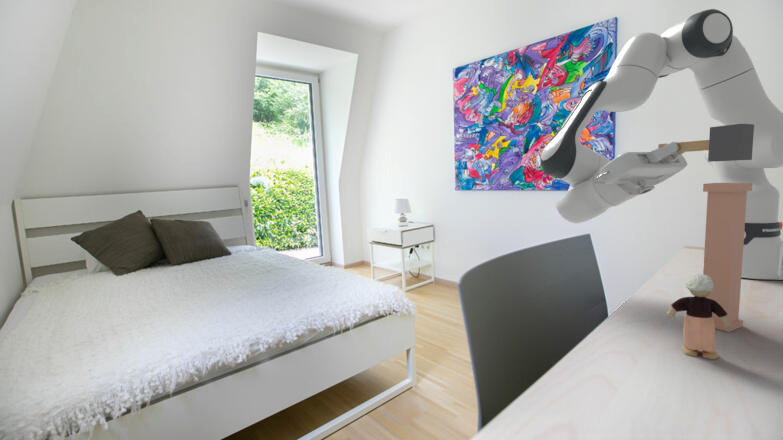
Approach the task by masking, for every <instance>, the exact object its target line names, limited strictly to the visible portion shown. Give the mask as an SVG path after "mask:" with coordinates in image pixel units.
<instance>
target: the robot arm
mask: <svg viewBox="0 0 783 440" xmlns="http://www.w3.org/2000/svg"><path fill="white" fill-rule="evenodd" d="M733 34H734V27H733V24H732V19H730V17H729V16H728V15H727V14H726V13H725V12H723V11H721V10H719V9H715V8H710V9H706V10H702V11H699V12H696V13H694V14H692V15H691V16H689V17H688V18H686V19H683V20H681V21H679V22H677V23H675V24H674V25H672V26H670V27H669V28H667V29H666V30H664V31H663V32H661V33H660V34H657V33H655V32H642V33H639V34H636V35H634V36H632V37H631V38H630V39H628V40H627V41H626V43H625V44H624V46H623V47H622V49H621V50H620V51H619V53H618V55H617V56H616V58H615V60H614V61H613V63H612V65H611V68H610V69H609V72H608V74H607V75H606V77H605V78H604V79H603V80H601V81H596V82H594V83H592V85H591V86H589V87H588V88H587V89H586V90H585V92H584V93H583V94H582V95H581V97H580V98H579V99H578V101H577V102H576V104H575V105H574V107H573V108H572V110H571V111H570V112H569V114H568V116H567V117H566V118H565V120H564V121H563V123H562V124H561V125H560V127H559V129H558V130H557V131H556V133H555V134H554V136H552V138H551V139H550V140H549V141H548V143H547V144H546V145H545V146H544V148H543V149H542V150H541V153H540V157H539V159H540V160H539V161H540V165H541V168H542V171H543V172H544V173H545V175H548V176H551V177H554V178H557V179H559V180H561V181H563V182H565V183H567V184H568V185H569V187H568V189H567V191H566V193H564V194H563V195H562V196H561V197H560V198H559V199H558V200H557V201H556V204H555V206H556V209H557V211H558V214H560V216H562V218H563V219H565V220H566V221H568V222H570V223H573V224H581V223H585V222H587V221H590V220H592V219H595V218H597V217H599V216H601V215H602V214H604V213H606V212H607V211H608V210H609V209H610V208H613V207H618V206H619V205H621V204H624V203H625V202H627V201H629V200H631V199H633V198H635V197H637V196H640V195H643V194H646V193H650V192H651V191H653V190H654V189H655V186H657V185H658V184H661V183H663V182H664V181H666V180H668V179H670V178H671V177H673V176H675V175H676V174H677V173H680V172H681V171H683V170H684V169H685V168H686V167H687V165H688V161H687V160H686V159H685V156H684V155H683V154H684V153H686V152H677V151H679V150H680V149H681V146H680V145H679V142H678V141H670V142H669V144H667V143H666V144H667V145H665V146H663V147H661V148H656V149H652V150H651V151H626V152H623V153H621V154H619V155H618V156H615V158H613V159H612V160H611V159H609V158H608V157H607V156H604V155H602V154H601V153H599V152H598V151H595V150H593V149H591V148H589V147H588V146H586V145H584V144H582V143H581V141H580V137H581V135H582V133H583V132H584V130H585V128H586V127H587V126H588V124H589V123H590V121H591V119H592V118H593V117H594V115H595V114H596V113H597V112H598V111H602V112H604V111H605V112H611V113H614V112H615V113H621V112H627V111H628V112H629V111H632V110H635V109H637V108H639V107H641V106H642V105H643V104H645V103H646V102H647V101H648V100H649V98H650V97H651V95H652V93H653V91H654V89H655V87H656V84H657V82H658V80H659V79H660V78H666V77H667V76H669V75H671V74H675V73H679V72H681V71H683V70H686V69H690V71H692V72H693V75H694V79H695V82H696V85H697V88H698V90H699V93H700V95H701V97H702V99H703V100H702V101H703V102H704V104H705V107H706V110H707V113H708V115H709V116H710V117H711V118H712V119H713V120H716V121H718V122H720V123H721V124H723V126H726V125H735V124H754V135H753V149H752V160H737V161H713V162H708V154H709V150H705V151H703V156H704V159H705V161H706V162H707V163H708V164H709V165H710V166H712V168H713V170H714V172H715V174H716V176H717V179H718V183H753V185H752V191H747V199H746V214H745V229H744V244H743V259H742V274H741V279H744V278H745V279H752V280H775V281H777V280H778V281H779V280H780V281H783V240H782V239H781V237H780V236H781V234H782V232H781V230H783V222H782V221H778V220H779V208H780V207H779V206H780V195H781V194H780V191H779V189H777V188H776V187H775V186H774V185H773V184H772V183H771V182H770V181H769V179H768V178H767V175H766V171H765V169H777V168H781V167H782V168H783V111H781V110H780V109H779V108H778V107H777V106H776V105H775V104H774V103H773V102H772V100H771V99H770V98H769V97H768V95H767V93H766V91H765V90H764V87H763V85H762V83H761V80H760V78H759V75H758V72H757V71H756V68H755V66H754V63H753V61H752V58H751V56H750V55H749V53H748V52H747V50H746V48H745V46H744V45H743V44H742V43H741V41H740V40H739V39H738V37H737V36H735V35H733ZM675 152H676V153H675ZM702 268H704V262H703V263H702Z"/></svg>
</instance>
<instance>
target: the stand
mask: <svg viewBox="0 0 783 440" xmlns="http://www.w3.org/2000/svg"><path fill="white" fill-rule="evenodd" d="M702 185H703V186H702V187H703V188H702V192H703V193H704V192H706V193H707V199H706V217H705V218H706V220H705V233H704V234H705V235H704V236H705V237H704V251H703V253H704V254H703V255H704V256H703V263H704V267H703V271H702V272H703V273H702V275H706V276H709V277H710V278H711V279H712V281H713V289H712V290H713V291H711V292H710V294H709V295H708V296H706V297H705V298H709V299H712V300H715V301H716V302H717V303H718V304H720V305H721V307H722V308H723V309H724V310H725V311H726V313H727V315H728V317H729V321H730V322H731V323H732V326H731V327H729V328H727V327H725V326H724V325H723V322H722V321H721V320H720V318H719V317H718V316H717V315H716V314H715V313H713V312H712V317H713V319H714V325H715V330H716V329H717V330H720V331H723V332H727V333H730V332H732V331H735V330H737V329H740V328H742V327H744V319H741V318H739V316H740V302H741V300H740V299H741V289H742V287H741V285H742V277H741V274H742V259H743V244H744V229H745V214H746V199H747V191H752V185H753V183H719V182H712V183H711V182H709V183H708V182H707V183H702Z"/></svg>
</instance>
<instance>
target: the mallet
mask: <svg viewBox="0 0 783 440" xmlns="http://www.w3.org/2000/svg"><path fill="white" fill-rule="evenodd" d="M753 135H754V124H735V125H726V126H725V125H716V126H711V127H709V137H708V138H709V139H704V140H701V139H700V140H692V141H680V142H678V143H679V145H680V146H681V149H680V150H679V151H677V152H685V153H687V152H689V153H691V152H702V151H703V152H704V151H705V150H709V154H708V162H713V161H737V160H752V149H753ZM669 143H670V142H669ZM669 143H659V144H658V148H661V147H663V146H665V145H667V144H669ZM658 148H657V149H658ZM675 153H676V152H675ZM708 162H707V163H708Z"/></svg>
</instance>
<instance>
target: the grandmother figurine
mask: <svg viewBox="0 0 783 440" xmlns="http://www.w3.org/2000/svg"><path fill="white" fill-rule="evenodd" d="M685 288H687V289H688V291H689V292H690V293H691V295H692V296H684V297H681V298H679V299H677V300H675V301H674V302H672V303H671V304H670V307H669V309H668V310H669V311H667V312H666V315H667V317H668V318H675V315H676V314H677V313H678V312H685V315H684V317H683V330H682V333H683V335H682V336H683V337H682V338H683V346H682V347H681V350H682V352H683V353H684V355H686V356H690V357H697V356H698V355H699V353H698V352H699V351H702V352H701V356H702V358H705V359H708V360H716V359H718V358H719V357H720V355H719V353H718V352H717V351H716V346H717V345H716V342H717V341H716V328H715V325H714V319H713V317H712V312H713V313H715V314H716V315H717V316H718V317H719V318H720V320H721V321H722V322H723V325H724V326H725V327H727V328H729V327H731V326H732V323H731V322H730V321H729V317H728V315H727V313H726V311H725V310H724V309H723V308H722V307H721V305H720V304H718V303H717V302H716V301H715V300H712V299H709V298H705V297H706V296H708V295H709V294H710V292H711V291H713V290H712V289H713V281H712V279H711V278H710V277H709V276H706V275H703V273H702V274H701V273H697V274H694V275H691V276H690V277H689V278H688V279H687V280H686V281H685Z"/></svg>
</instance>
